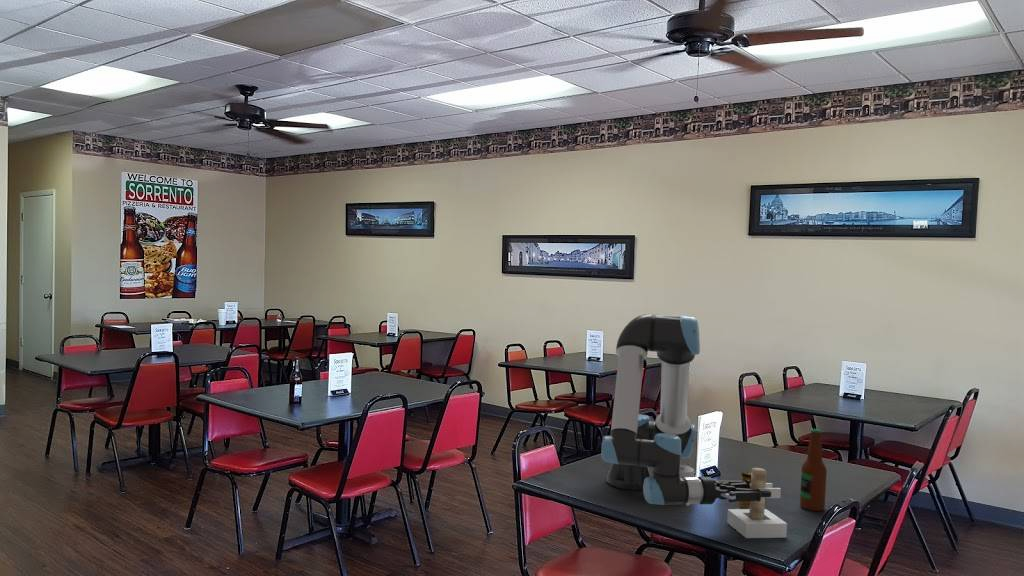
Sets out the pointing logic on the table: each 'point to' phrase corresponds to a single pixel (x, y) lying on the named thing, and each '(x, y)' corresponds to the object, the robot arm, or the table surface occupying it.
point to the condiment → (745, 476)
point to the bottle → (813, 476)
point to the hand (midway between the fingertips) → (775, 490)
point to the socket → (757, 524)
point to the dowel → (757, 482)
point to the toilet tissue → (686, 471)
